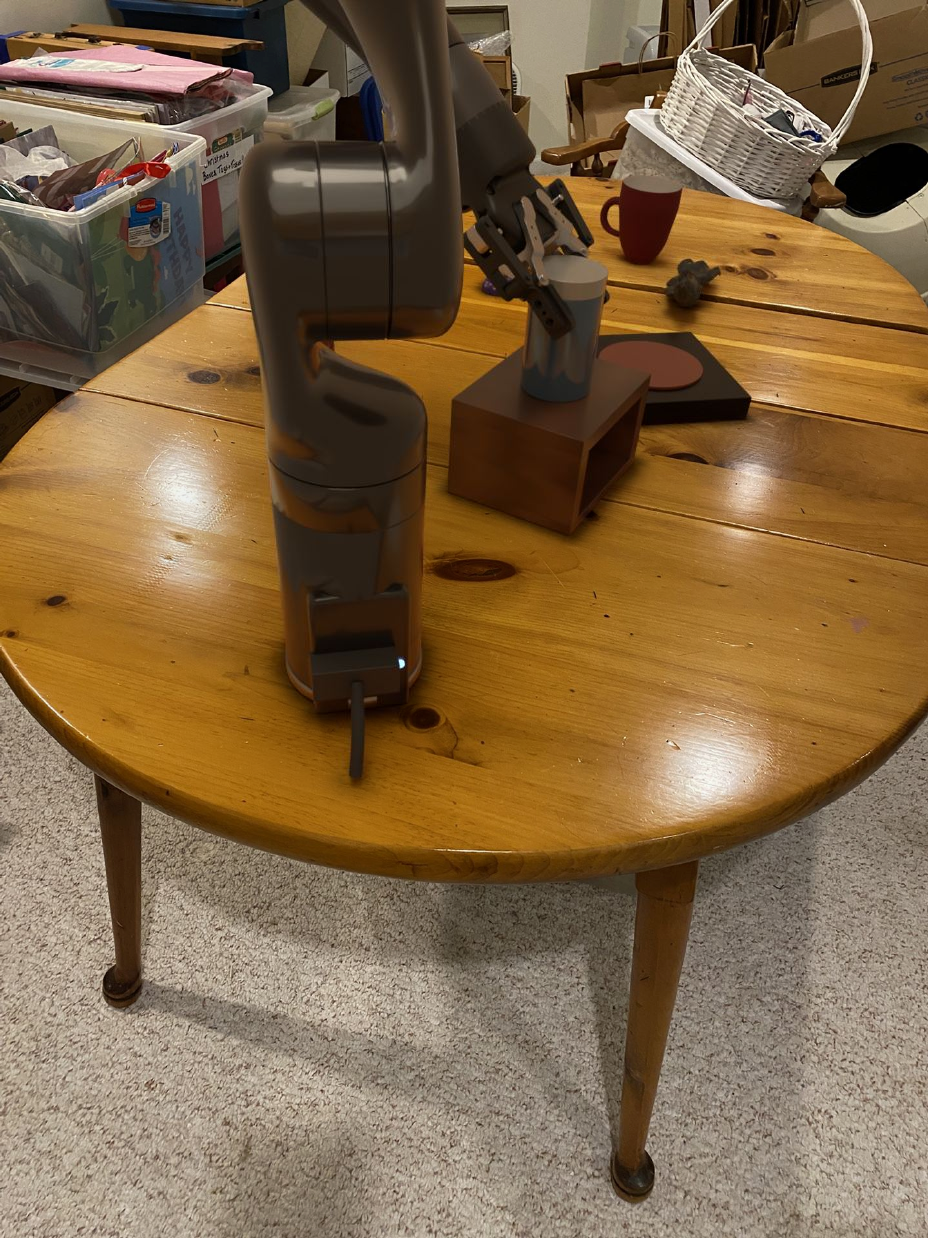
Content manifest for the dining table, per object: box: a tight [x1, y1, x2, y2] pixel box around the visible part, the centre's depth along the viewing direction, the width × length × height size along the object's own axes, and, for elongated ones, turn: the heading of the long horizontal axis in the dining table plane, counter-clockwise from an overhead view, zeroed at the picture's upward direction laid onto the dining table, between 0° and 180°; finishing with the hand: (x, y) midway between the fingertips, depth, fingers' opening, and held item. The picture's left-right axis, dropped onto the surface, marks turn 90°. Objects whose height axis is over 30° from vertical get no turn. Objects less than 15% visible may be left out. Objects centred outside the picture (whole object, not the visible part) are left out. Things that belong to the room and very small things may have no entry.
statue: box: [664, 258, 722, 308], centre depth 116 cm, size 6×6×20 cm
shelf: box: [446, 344, 651, 537], centre depth 82 cm, size 12×14×9 cm
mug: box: [599, 174, 684, 265], centre depth 126 cm, size 11×8×10 cm
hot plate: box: [595, 331, 753, 426], centre depth 98 cm, size 16×16×3 cm
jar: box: [520, 254, 609, 402], centre depth 75 cm, size 6×6×10 cm
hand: (583, 319), depth 74 cm, fingers closed on jar, 6 cm apart
